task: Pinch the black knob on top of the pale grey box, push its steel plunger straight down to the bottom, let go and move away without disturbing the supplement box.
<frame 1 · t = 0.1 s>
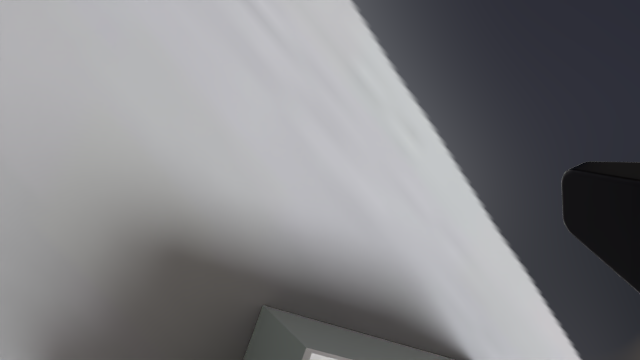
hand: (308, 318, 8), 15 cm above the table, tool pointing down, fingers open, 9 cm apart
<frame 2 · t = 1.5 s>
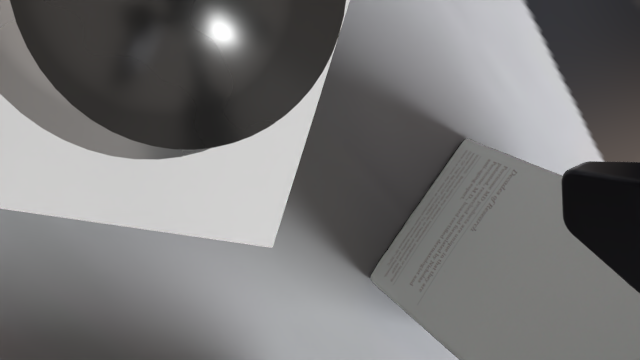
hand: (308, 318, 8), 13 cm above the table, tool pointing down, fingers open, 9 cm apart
supplement box: (462, 242, 28), on the table
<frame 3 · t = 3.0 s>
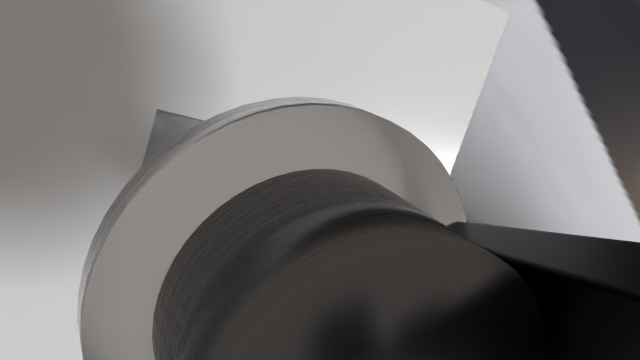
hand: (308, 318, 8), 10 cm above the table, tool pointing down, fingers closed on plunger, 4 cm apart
pale grey box: (156, 131, 17), on the table
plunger: (259, 257, 10), point 8 cm above the table, slide at 0.0 cm, touching gripper
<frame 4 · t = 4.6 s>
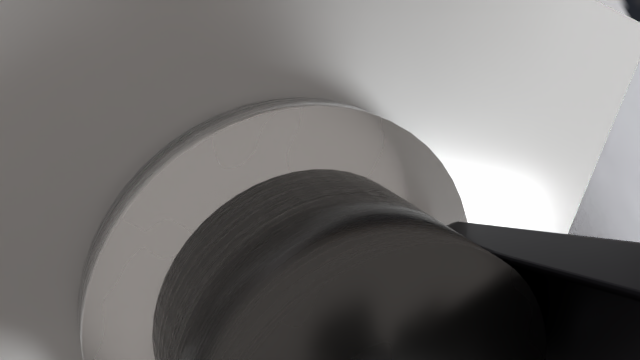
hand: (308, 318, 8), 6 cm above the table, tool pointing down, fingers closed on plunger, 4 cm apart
pale grey box: (188, 171, 14), on the table
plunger: (260, 258, 10), point 5 cm above the table, slide at 3.6 cm, touching gripper
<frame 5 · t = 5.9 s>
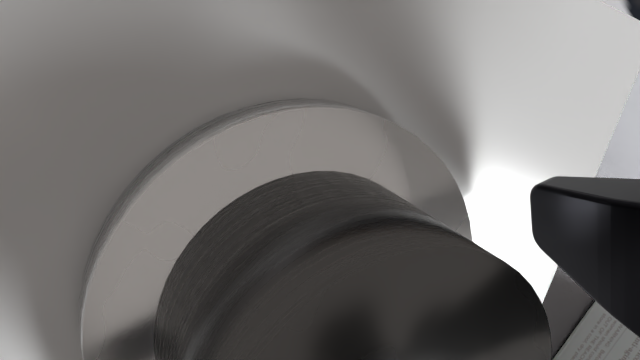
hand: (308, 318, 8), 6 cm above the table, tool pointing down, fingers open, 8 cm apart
pale grey box: (189, 172, 14), on the table
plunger: (261, 260, 10), point 5 cm above the table, slide at 3.6 cm
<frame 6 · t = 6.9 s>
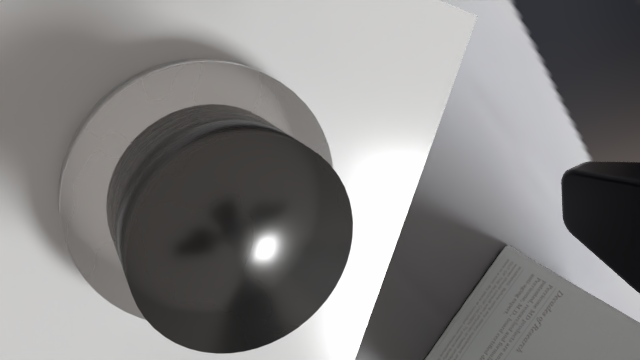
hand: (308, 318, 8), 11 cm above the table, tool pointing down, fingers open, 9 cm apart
pale grey box: (150, 128, 18), on the table
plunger: (189, 176, 14), point 5 cm above the table, slide at 3.6 cm
supplement box: (498, 339, 28), on the table
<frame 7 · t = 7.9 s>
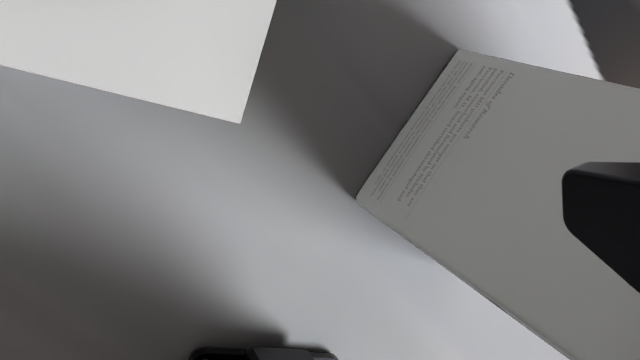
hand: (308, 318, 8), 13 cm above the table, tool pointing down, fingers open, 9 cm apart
supplement box: (454, 167, 26), on the table
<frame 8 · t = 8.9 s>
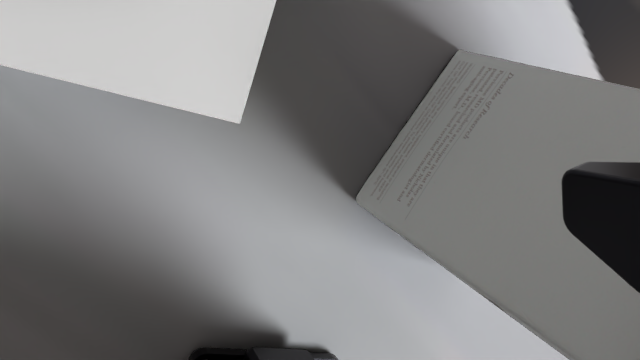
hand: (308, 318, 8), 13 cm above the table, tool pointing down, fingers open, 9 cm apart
supplement box: (454, 167, 26), on the table
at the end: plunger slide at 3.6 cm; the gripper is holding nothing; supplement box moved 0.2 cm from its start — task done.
